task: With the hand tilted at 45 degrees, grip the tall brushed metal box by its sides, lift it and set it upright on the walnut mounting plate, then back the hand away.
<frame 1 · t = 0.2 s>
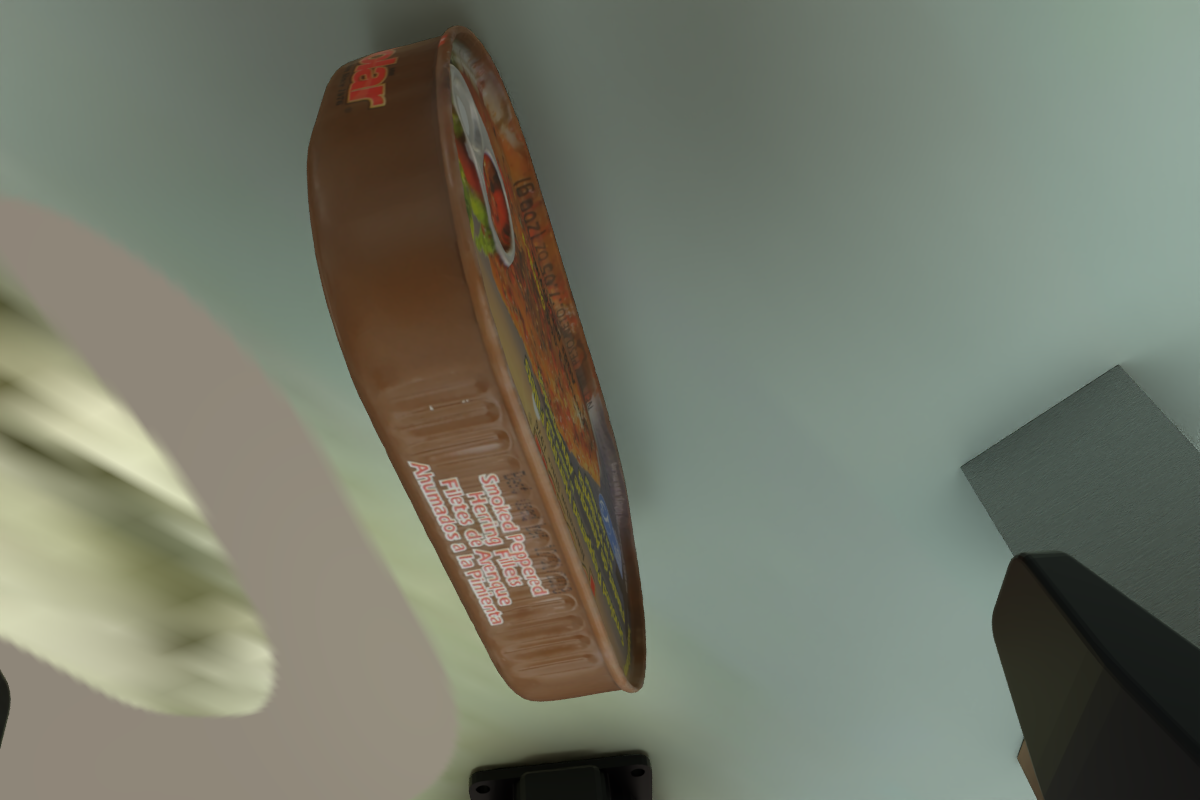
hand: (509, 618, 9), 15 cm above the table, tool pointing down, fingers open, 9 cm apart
brushed metal box: (1075, 464, 29), on the table
tin: (508, 299, 24), on the table
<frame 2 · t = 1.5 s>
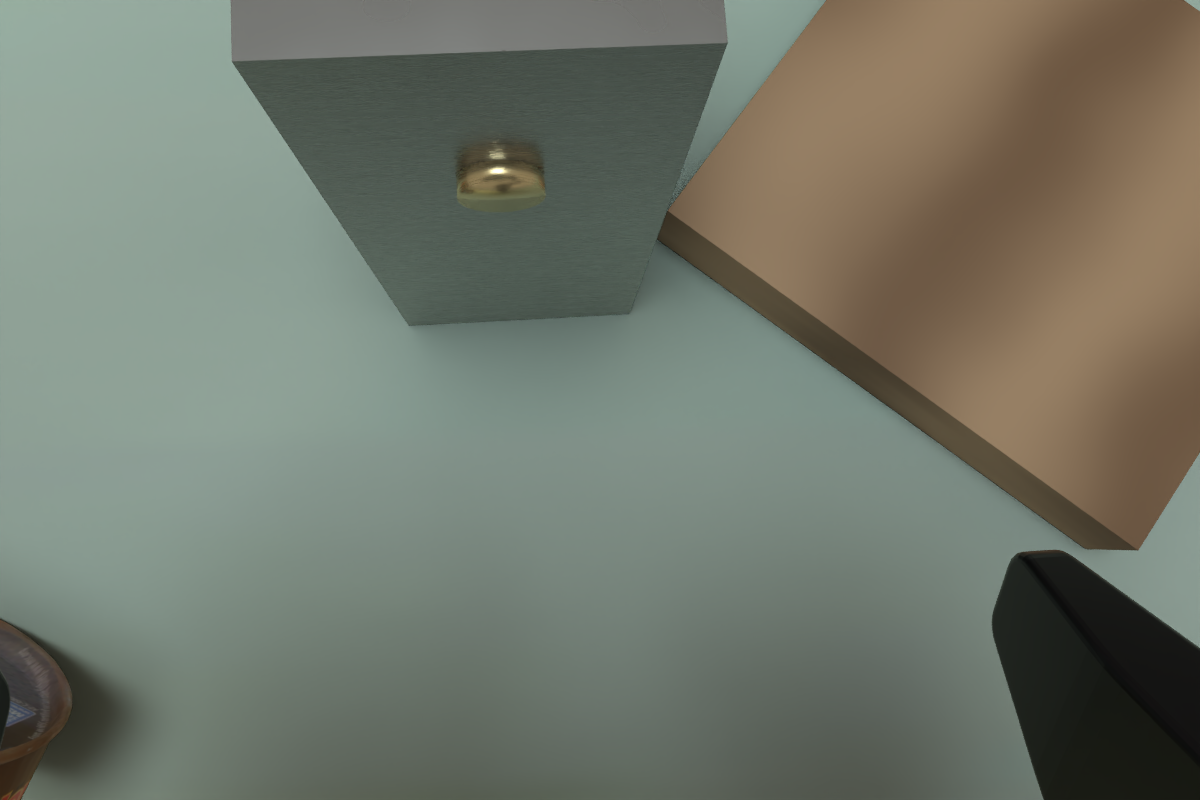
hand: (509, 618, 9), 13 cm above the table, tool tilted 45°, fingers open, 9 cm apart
brushed metal box: (513, 213, 23), on the table
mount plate: (997, 207, 23), on the table
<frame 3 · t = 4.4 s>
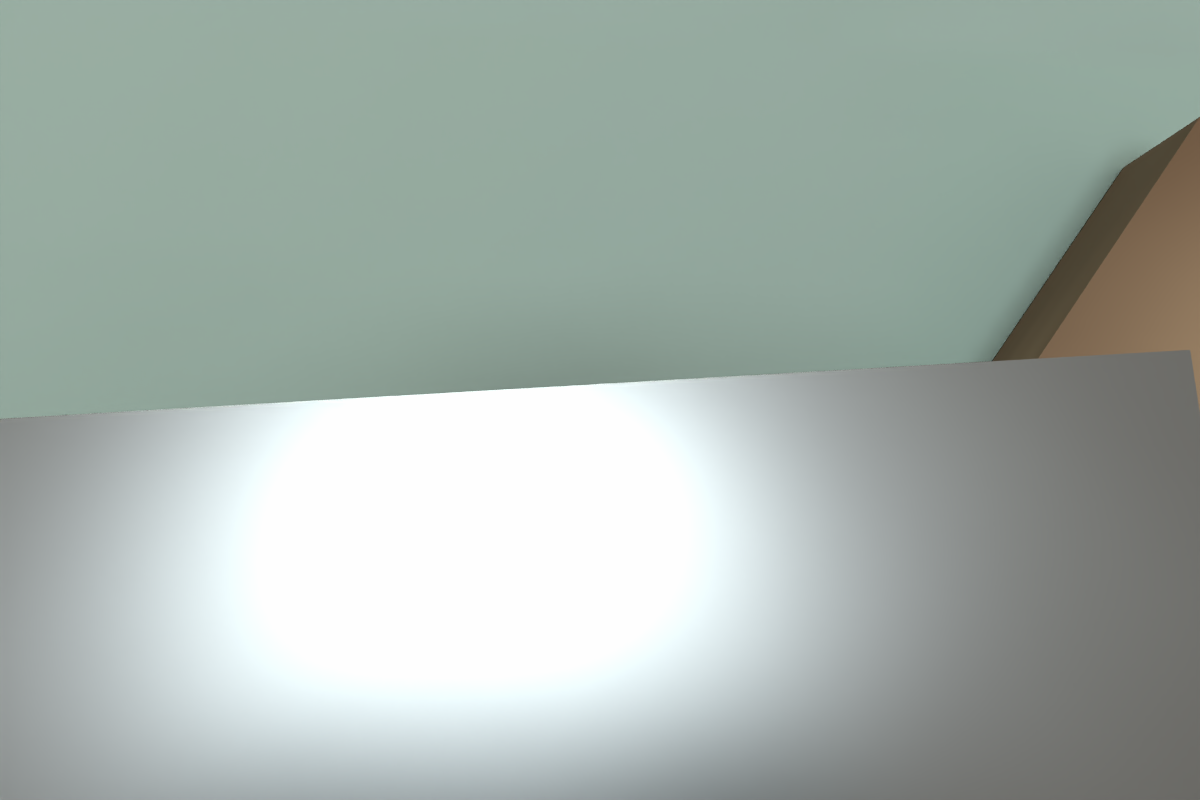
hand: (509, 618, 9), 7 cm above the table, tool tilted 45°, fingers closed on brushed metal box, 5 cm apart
brushed metal box: (535, 678, 15), on the table, touching gripper
when the fingers open (10 cm above the table, at t = 7.6 s): brushed metal box drops 1 cm, resting on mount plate.
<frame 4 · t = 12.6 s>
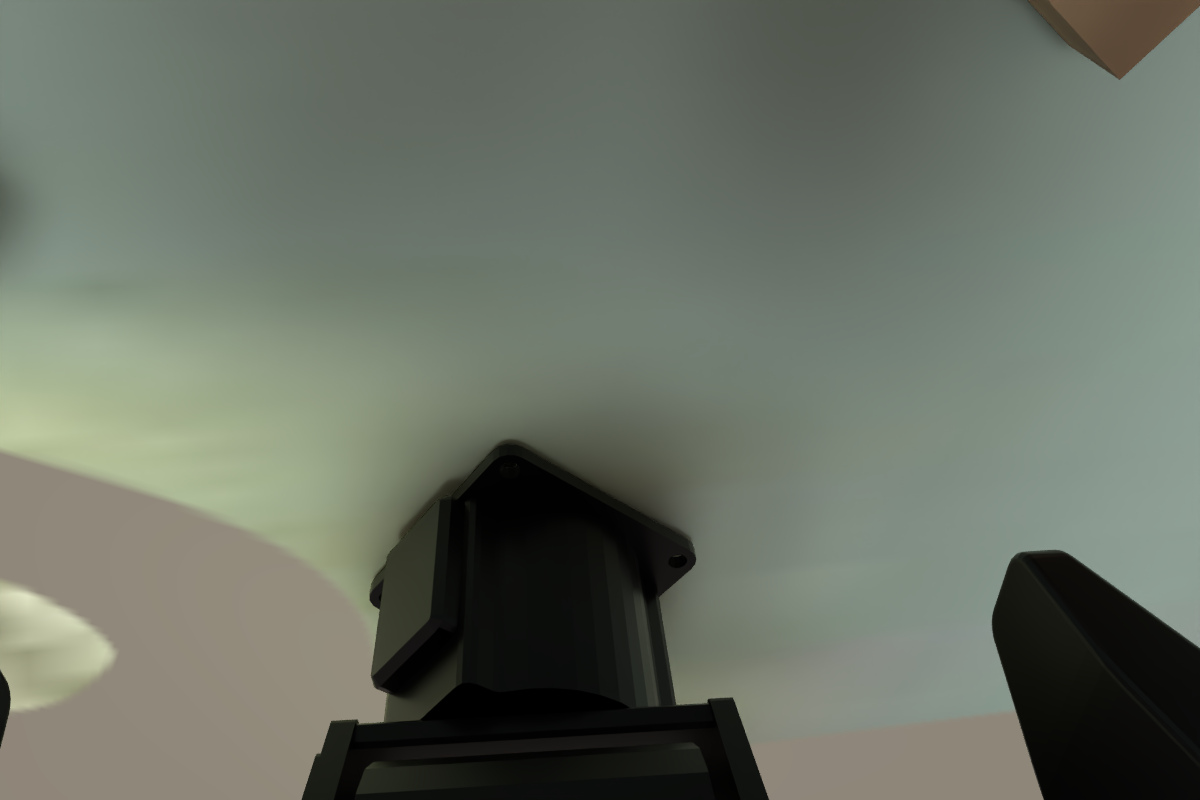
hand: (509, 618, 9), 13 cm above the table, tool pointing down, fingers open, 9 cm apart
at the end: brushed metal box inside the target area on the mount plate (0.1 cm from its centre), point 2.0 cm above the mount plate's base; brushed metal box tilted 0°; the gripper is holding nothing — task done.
